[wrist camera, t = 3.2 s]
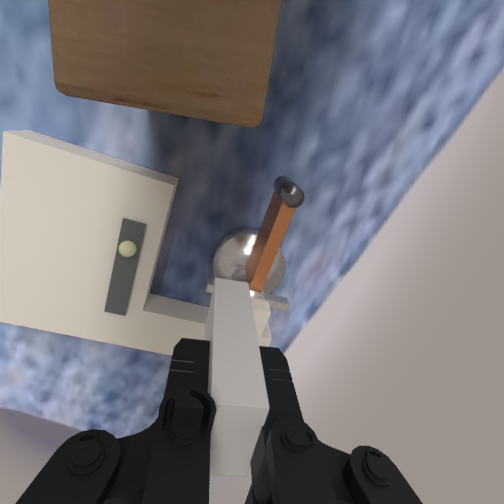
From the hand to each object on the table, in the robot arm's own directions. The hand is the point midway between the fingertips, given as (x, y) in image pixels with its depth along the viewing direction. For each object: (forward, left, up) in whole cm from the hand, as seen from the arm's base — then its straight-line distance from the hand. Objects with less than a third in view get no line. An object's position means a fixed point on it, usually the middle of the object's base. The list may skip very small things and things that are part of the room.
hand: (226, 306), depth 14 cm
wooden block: (-12, -6, -25) cm, 28 cm away
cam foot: (+5, +6, -25) cm, 26 cm away
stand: (+11, -5, -25) cm, 28 cm away
